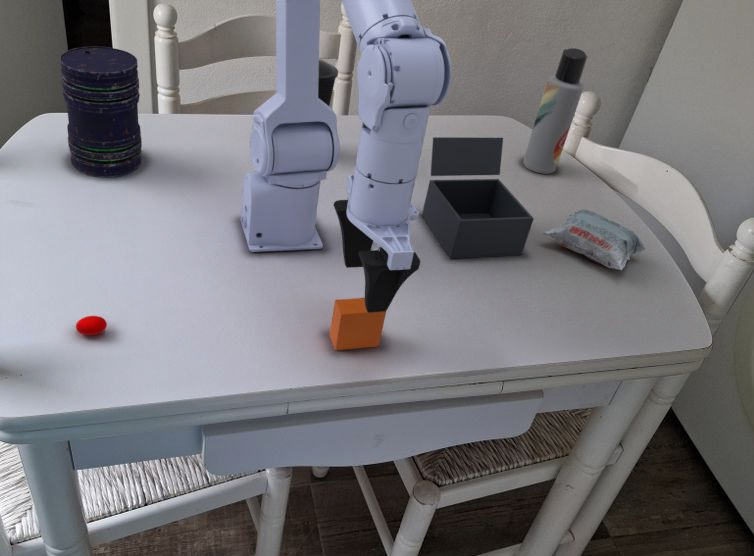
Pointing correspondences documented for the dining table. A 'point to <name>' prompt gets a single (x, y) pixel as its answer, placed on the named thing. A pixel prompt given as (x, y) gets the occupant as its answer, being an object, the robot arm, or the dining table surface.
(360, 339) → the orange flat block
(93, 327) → the candy
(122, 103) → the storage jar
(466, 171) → the bin flap
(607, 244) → the packaged food
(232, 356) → the dining table surface
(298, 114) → the robot arm
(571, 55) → the lotion bottle
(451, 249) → the bin
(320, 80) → the drinking cup
